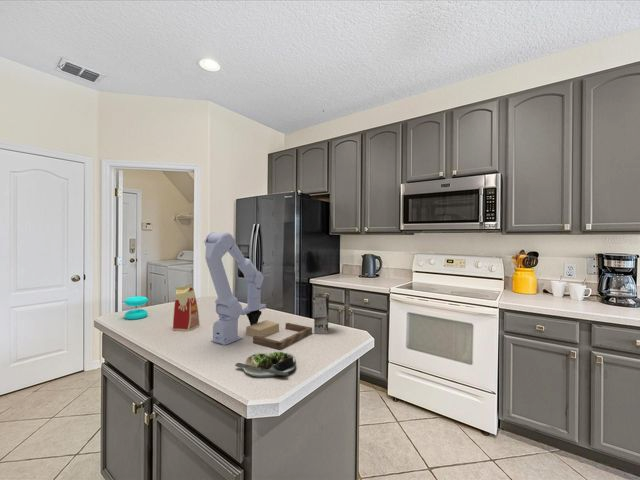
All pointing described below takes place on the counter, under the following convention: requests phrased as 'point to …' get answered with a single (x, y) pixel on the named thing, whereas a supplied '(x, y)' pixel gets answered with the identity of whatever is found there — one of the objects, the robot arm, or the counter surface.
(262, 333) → the kraft carton
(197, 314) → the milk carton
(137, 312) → the turquoise double disc piece
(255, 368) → the salad plate
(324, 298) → the coffee box
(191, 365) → the counter surface
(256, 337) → the tray
